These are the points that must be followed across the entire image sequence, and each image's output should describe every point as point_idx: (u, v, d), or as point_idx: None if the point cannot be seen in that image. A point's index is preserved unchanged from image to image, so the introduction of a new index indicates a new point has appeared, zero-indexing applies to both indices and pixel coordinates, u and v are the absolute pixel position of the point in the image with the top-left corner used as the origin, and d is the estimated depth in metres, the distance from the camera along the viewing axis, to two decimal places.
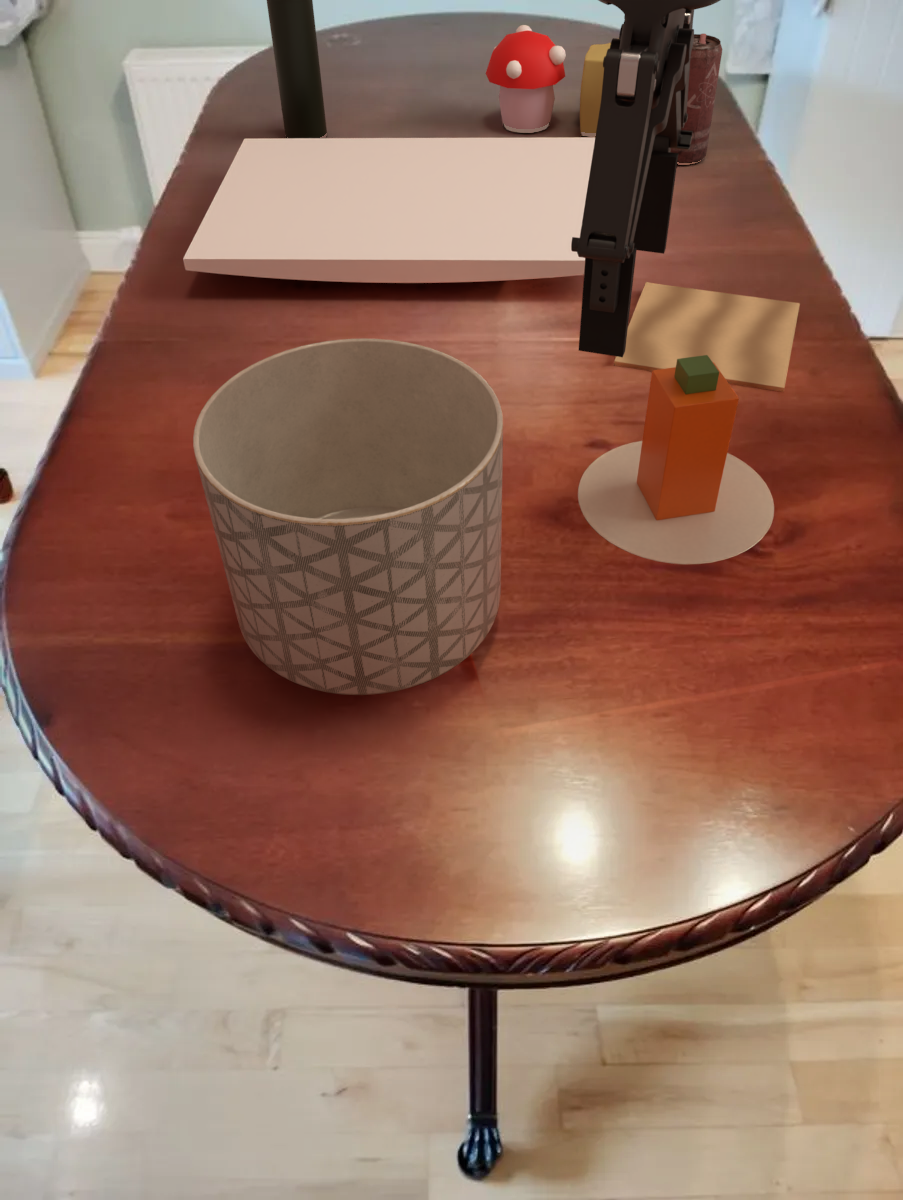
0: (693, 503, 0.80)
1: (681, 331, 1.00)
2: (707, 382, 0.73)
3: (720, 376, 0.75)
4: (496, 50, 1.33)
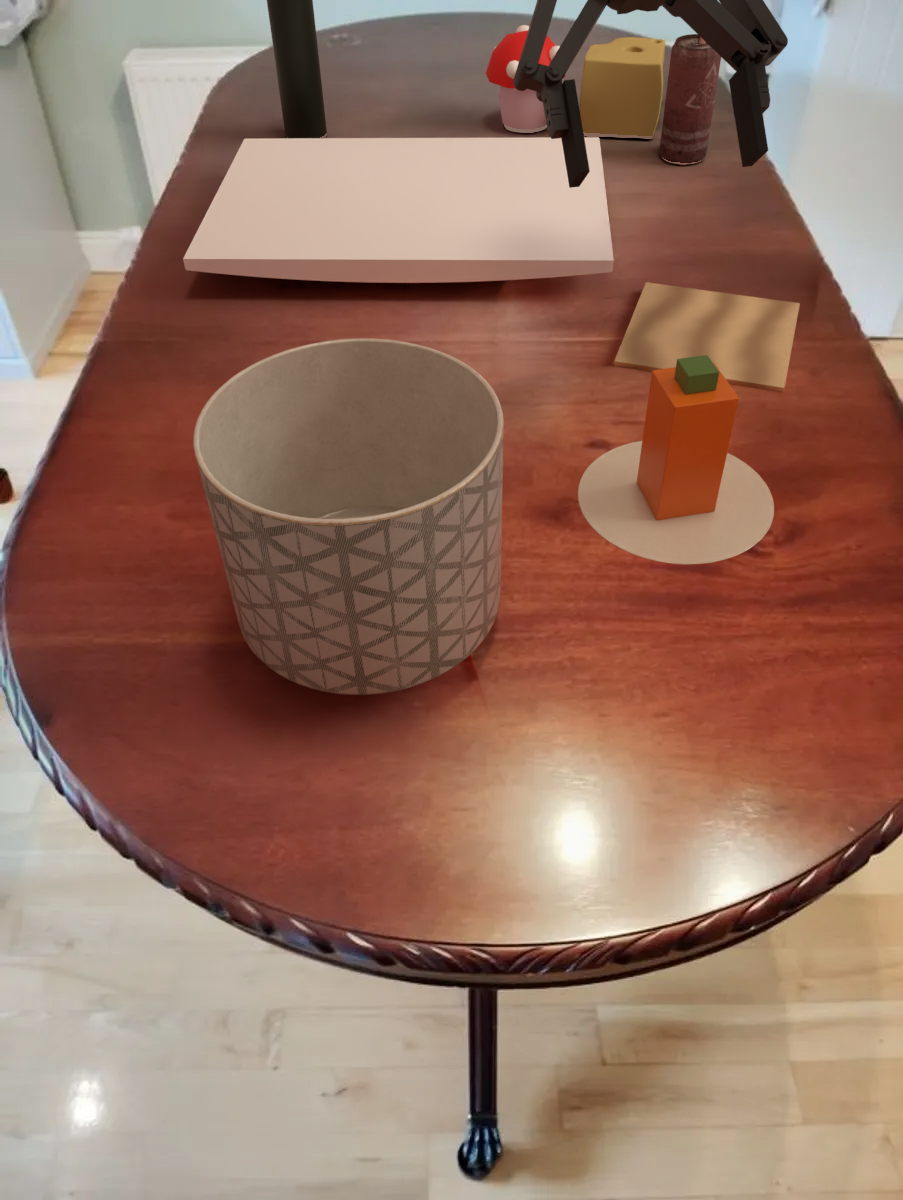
0: (693, 503, 0.80)
1: (681, 331, 1.00)
2: (707, 382, 0.73)
3: (720, 376, 0.75)
4: (496, 49, 1.33)
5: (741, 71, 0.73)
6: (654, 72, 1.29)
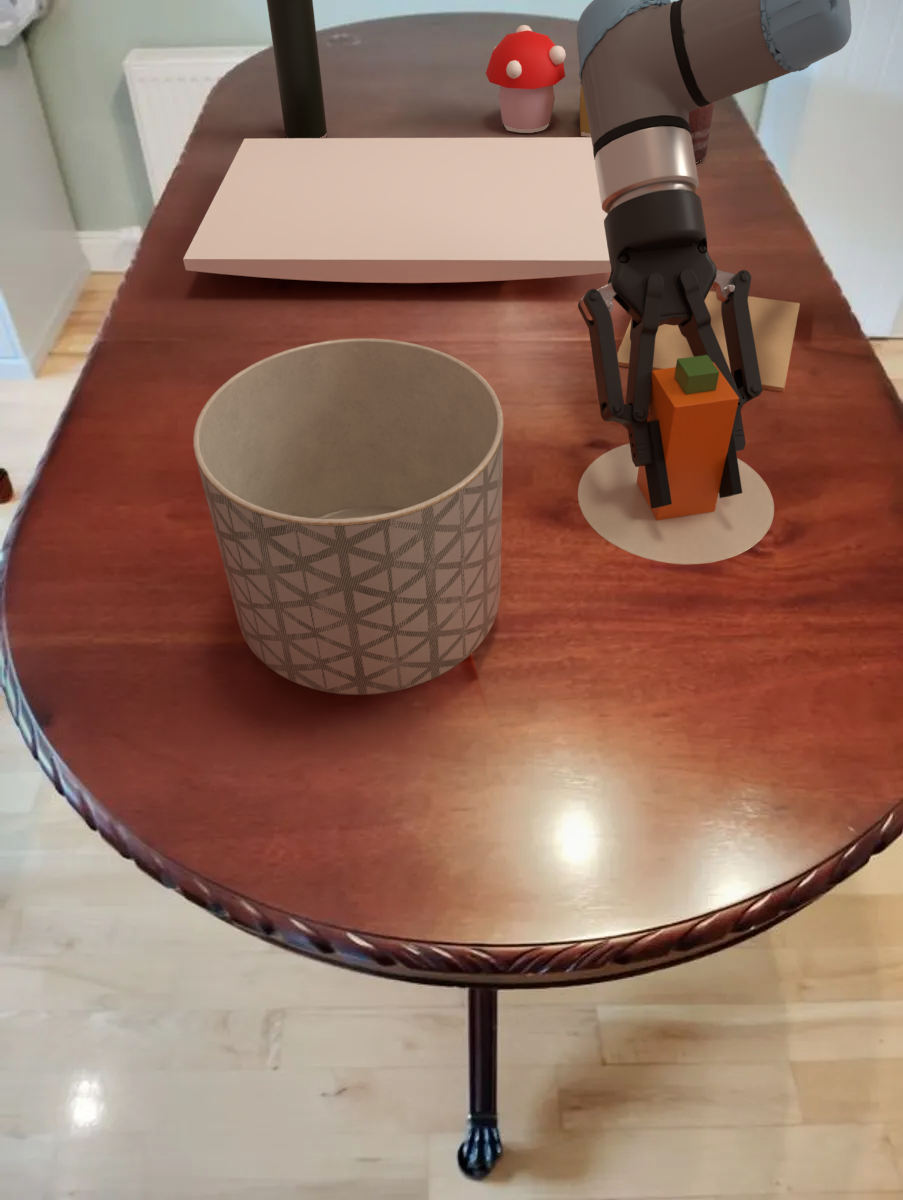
0: (693, 503, 0.80)
1: None
2: (707, 382, 0.73)
3: (720, 376, 0.75)
4: (496, 49, 1.33)
5: None
6: None
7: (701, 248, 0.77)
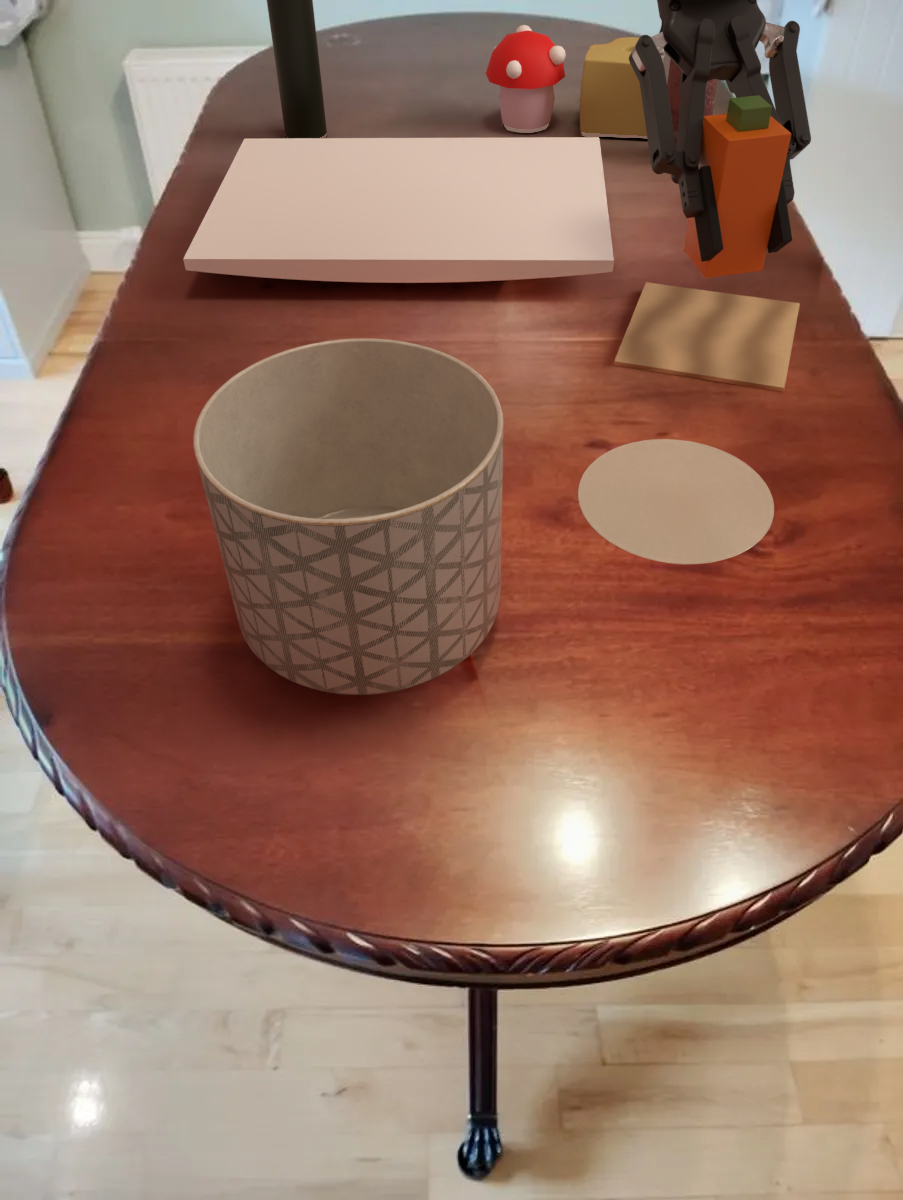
0: (742, 258, 0.81)
1: (681, 331, 1.00)
2: (760, 118, 0.74)
3: (772, 119, 0.76)
4: (496, 50, 1.33)
5: None
6: None
7: None
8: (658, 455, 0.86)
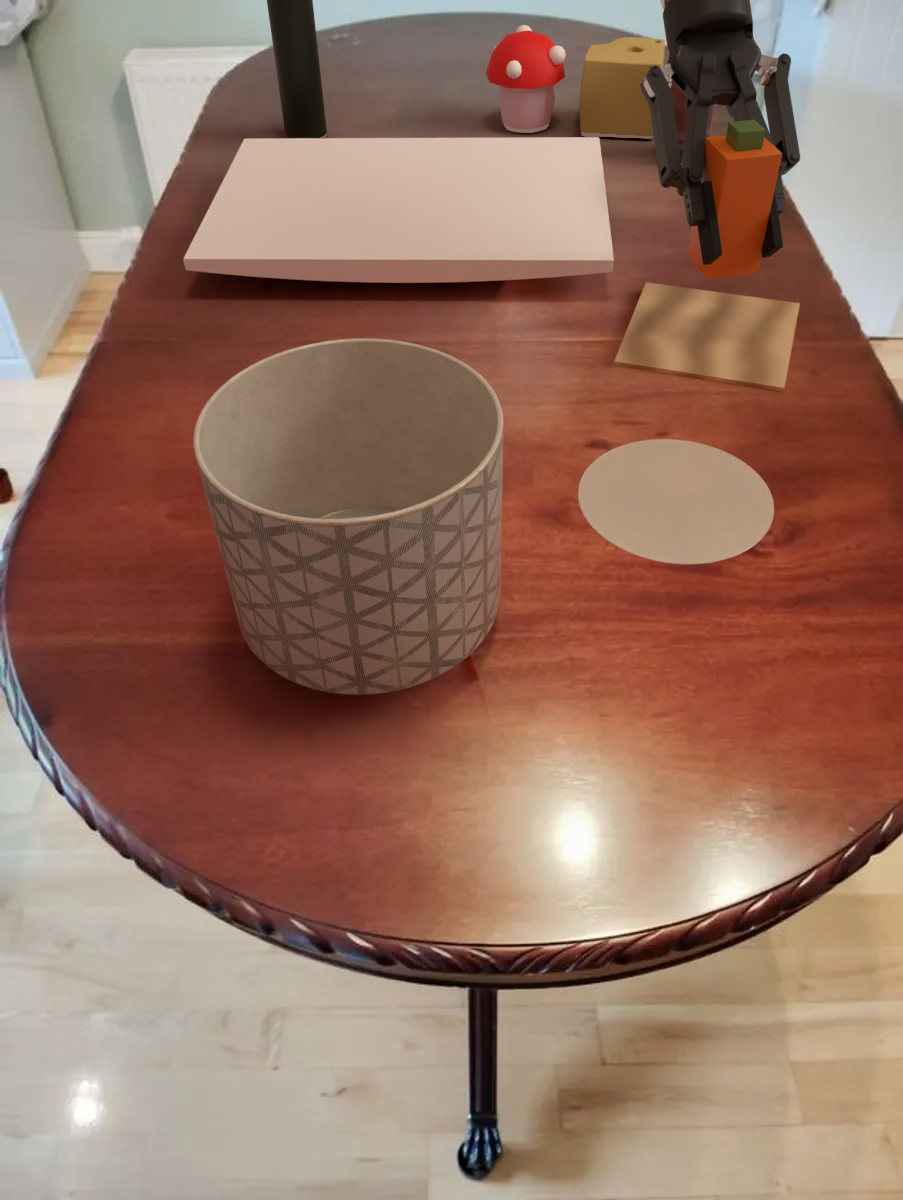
0: (739, 262, 0.92)
1: (681, 331, 1.00)
2: (755, 140, 0.85)
3: (765, 140, 0.87)
4: (496, 50, 1.33)
5: None
6: None
7: (748, 34, 0.89)
8: (658, 455, 0.86)
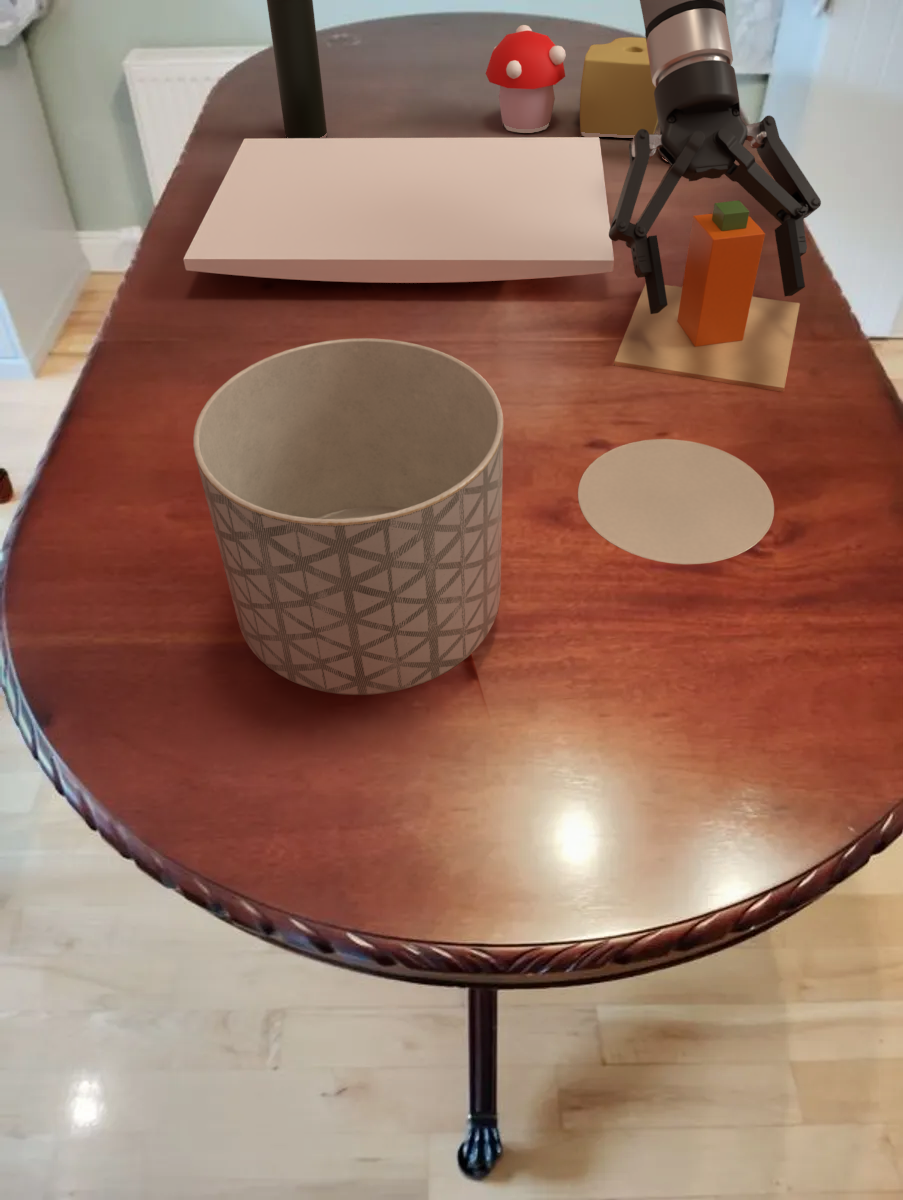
0: (725, 331, 0.97)
1: (681, 331, 1.00)
2: (739, 220, 0.90)
3: (749, 219, 0.92)
4: (496, 50, 1.33)
5: (784, 225, 0.95)
6: None
7: (735, 112, 0.94)
8: (658, 455, 0.86)
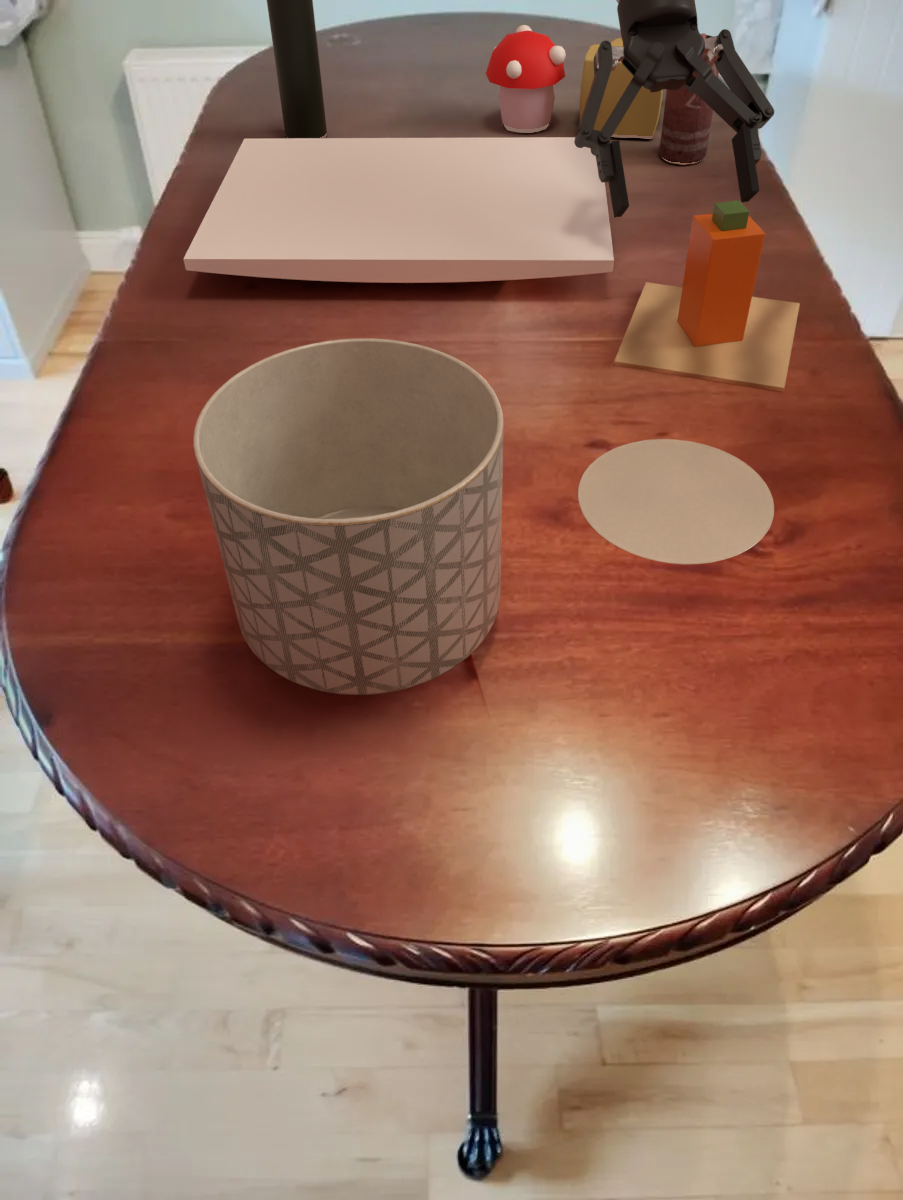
0: (725, 331, 0.97)
1: (681, 331, 1.00)
2: (739, 220, 0.90)
3: (749, 219, 0.92)
4: (496, 50, 1.33)
5: (740, 133, 1.00)
6: None
7: (693, 26, 0.99)
8: (658, 455, 0.86)
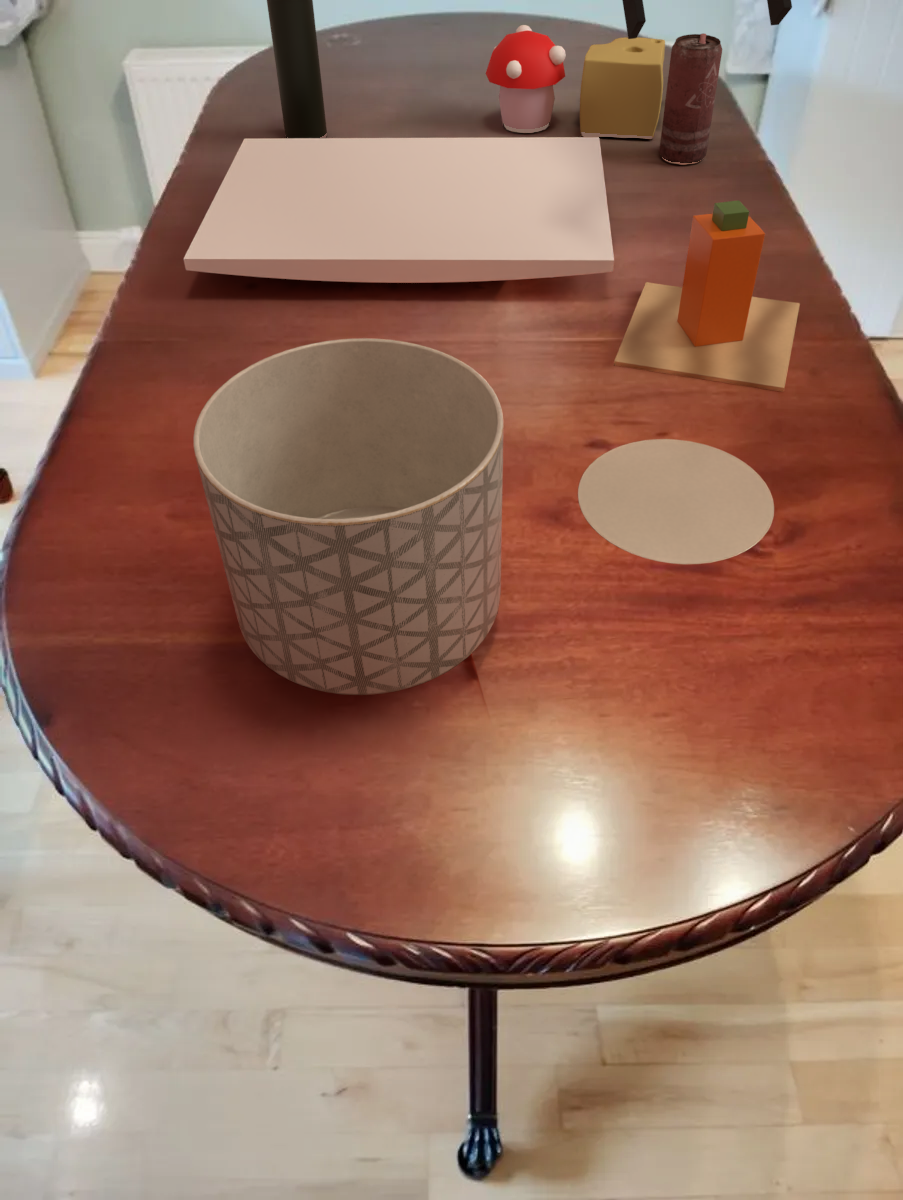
0: (725, 331, 0.97)
1: (681, 331, 1.00)
2: (739, 220, 0.90)
3: (749, 219, 0.92)
4: (496, 50, 1.33)
5: None
6: (654, 71, 1.29)
7: None
8: (658, 455, 0.86)
